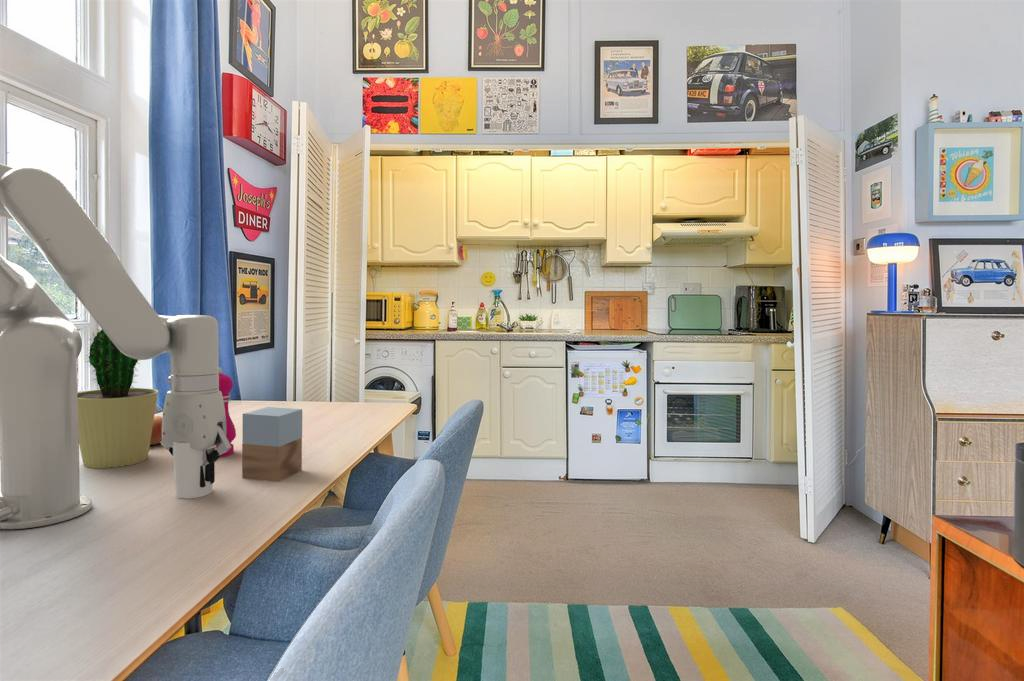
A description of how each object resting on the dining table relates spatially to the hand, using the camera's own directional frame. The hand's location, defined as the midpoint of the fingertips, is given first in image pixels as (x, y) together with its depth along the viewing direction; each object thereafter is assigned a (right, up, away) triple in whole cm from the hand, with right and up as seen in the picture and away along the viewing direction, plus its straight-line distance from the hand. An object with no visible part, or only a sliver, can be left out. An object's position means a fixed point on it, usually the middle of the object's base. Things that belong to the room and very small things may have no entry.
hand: (196, 483), depth 99 cm
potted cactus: (-28, 0, +19) cm, 34 cm away
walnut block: (+8, -1, +13) cm, 15 cm away
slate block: (+9, +5, +12) cm, 16 cm away
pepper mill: (-10, 0, +26) cm, 28 cm away
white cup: (0, -2, 0) cm, 2 cm away
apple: (-30, +1, +33) cm, 45 cm away
